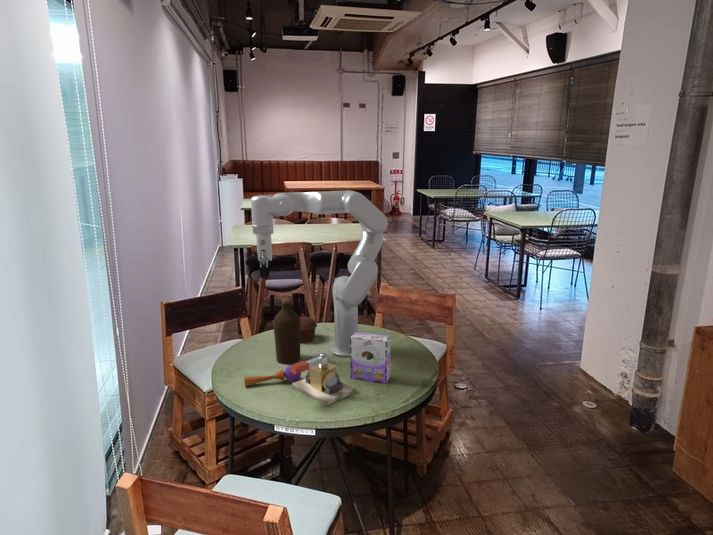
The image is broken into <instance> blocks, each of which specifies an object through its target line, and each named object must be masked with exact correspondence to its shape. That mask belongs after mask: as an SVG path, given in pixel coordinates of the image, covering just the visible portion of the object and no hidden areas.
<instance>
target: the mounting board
mask: <svg viewBox="0 0 713 535" xmlns="http://www.w3.org/2000/svg"><path fill="white" fill-rule="evenodd" d="M340 382H342V383H343V389H342V390H340V391H338V392H335V393H333V394H331V395H328V394H326V392H325V391H323V392H321V391H319V390H317V389H315V388H313V387H311V385H310V384H308V383H306V382H305V377H304V378H303V379H300V380H299V379H298V380H297V381H295V382H291V387H292V388H293V389H294V390H296V391H297V392H300V393H301V394H303V395H305V396H306V397H308V398H309V399H312V400H313V399H314V400H313V401H315V400H316V401H315V402H317V403H318V402H319V403H318V404H320V403H321V404H320V405H322V404H323V405H322V406H324V407H326V405H327V406H329V405H331V404H333V403H336V402H337V400H338V401H340V400H342V399H344V398H346V397H349V396H350V395H352V394H355V393H356V392H357V387H356V386H353V385H351V384H349V383H348V382H346V381H344V380H341V379H340ZM354 392H355V393H354ZM349 394H350V395H349ZM345 396H346V397H345ZM343 397H344V398H343ZM341 398H342V399H341ZM339 399H340V400H339ZM330 403H331V404H330ZM328 404H329V405H328Z"/></svg>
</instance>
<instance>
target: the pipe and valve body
mask: <svg viewBox="0 0 713 535" xmlns="http://www.w3.org/2000/svg"><path fill="white" fill-rule="evenodd" d="M337 369H338V368H337V366H336V365H334V364H331V363H330V362H328V367H326V368H320V367H319V364H318V365H315V366H312V367H310V368H309V370H307V374H306V375H305V376H304V378H305V382H306V383H308V384H310V385H311V387H313V388H315V389H317V390H319V391H321V392H323V391H325V392H326V394H328V395H331V394H333V393H335V392H338V391H340V390H342V389H343V383H342V382H340V380H341V379H340V376H339V374H338V370H337Z"/></svg>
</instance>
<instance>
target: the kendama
mask: <svg viewBox="0 0 713 535" xmlns="http://www.w3.org/2000/svg"><path fill="white" fill-rule="evenodd" d="M291 365H292V364H289V365H288V366H287V367H285V369H284V368H283V369H281V370H279V371H278V372H276V373H275V374H273V375H261V376H260V375H259V376H244V377H243V379H244V380H243V381H244V386H245V388H246V387H251V386H252V385H253V386H254V385H257V384H260V383H263V382H266V381H270V380H273V379H276V380H280V381H282V382H283V381H284V382H285V379H286V380H287V381H289V382H290V383H295V382H297V381H299V379H300V378H301V376H302V372H301V373H298V374H296V375H295V374H294V373H292V372H290V366H291Z"/></svg>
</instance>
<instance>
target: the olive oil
mask: <svg viewBox="0 0 713 535" xmlns="http://www.w3.org/2000/svg"><path fill="white" fill-rule="evenodd" d="M291 307H292V306H291V299H290V298H288V297H287V298H282V299H281V310H279V311H278V313H277V314H276V315H275V316H274V319H273V323H272V327H273V334H274V335H273V336H274V344H275V357H276V362H278V363H279V364H281V363H282V365H293V364H296V363H299V362H300V360H301V343H300V331H301V322H300V318H299V317H300V316H299V315H298V314H297V312H295V311H294V310H293V309H292V308H291ZM295 362H296V363H295ZM292 363H293V364H292Z"/></svg>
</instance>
